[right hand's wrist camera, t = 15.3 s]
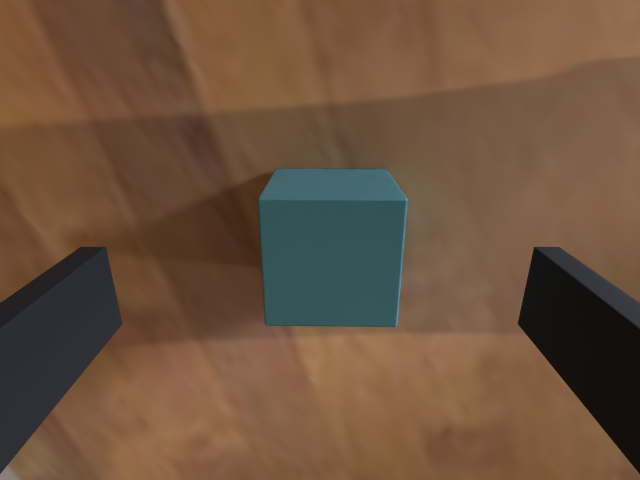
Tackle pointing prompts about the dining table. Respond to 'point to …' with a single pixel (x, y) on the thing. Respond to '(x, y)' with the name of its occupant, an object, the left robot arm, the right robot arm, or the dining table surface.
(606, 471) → the dining table surface
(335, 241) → the teal block
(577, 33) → the dining table surface
